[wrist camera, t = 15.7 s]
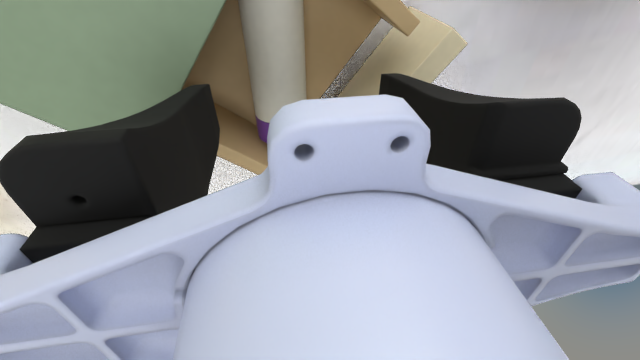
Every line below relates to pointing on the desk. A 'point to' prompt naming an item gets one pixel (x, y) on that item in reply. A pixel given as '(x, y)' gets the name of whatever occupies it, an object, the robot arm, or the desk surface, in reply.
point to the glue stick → (274, 55)
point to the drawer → (318, 62)
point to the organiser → (98, 55)
